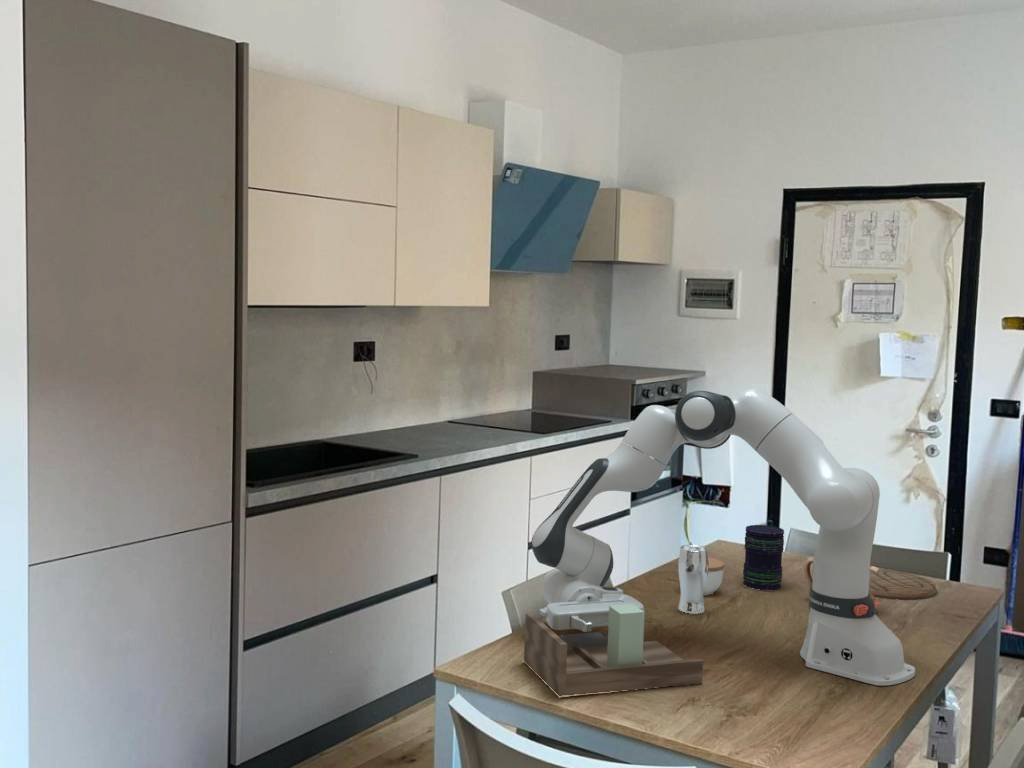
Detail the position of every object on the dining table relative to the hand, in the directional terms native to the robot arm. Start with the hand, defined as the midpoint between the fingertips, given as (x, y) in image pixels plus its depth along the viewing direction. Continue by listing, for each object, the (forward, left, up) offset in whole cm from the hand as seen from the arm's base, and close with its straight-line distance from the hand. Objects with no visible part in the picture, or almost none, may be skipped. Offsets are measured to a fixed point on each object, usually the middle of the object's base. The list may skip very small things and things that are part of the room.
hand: (610, 626), depth 198 cm
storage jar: (+20, -75, -9) cm, 78 cm away
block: (-7, +3, -6) cm, 10 cm away
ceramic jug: (-2, -76, -9) cm, 76 cm away
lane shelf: (-3, +1, -8) cm, 9 cm away
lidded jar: (+25, -57, -9) cm, 63 cm away
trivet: (+2, -103, -9) cm, 103 cm away
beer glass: (+16, -43, -9) cm, 47 cm away
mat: (+13, -4, -8) cm, 16 cm away
